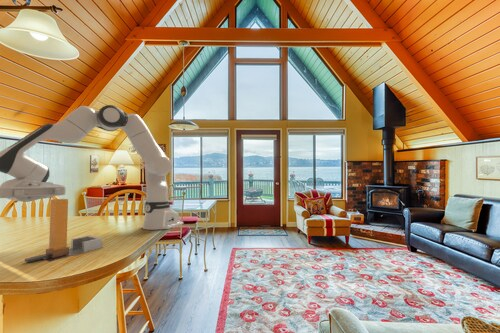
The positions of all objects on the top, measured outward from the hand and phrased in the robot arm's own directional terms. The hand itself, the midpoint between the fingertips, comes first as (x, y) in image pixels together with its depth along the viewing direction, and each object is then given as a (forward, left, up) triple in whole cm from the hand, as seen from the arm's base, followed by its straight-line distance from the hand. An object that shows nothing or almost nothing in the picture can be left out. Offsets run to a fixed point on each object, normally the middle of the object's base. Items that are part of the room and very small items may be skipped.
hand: (41, 192), depth 89 cm
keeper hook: (-9, +13, -21) cm, 26 cm away
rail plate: (-5, +13, -22) cm, 26 cm away
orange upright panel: (+3, +13, -21) cm, 25 cm away
